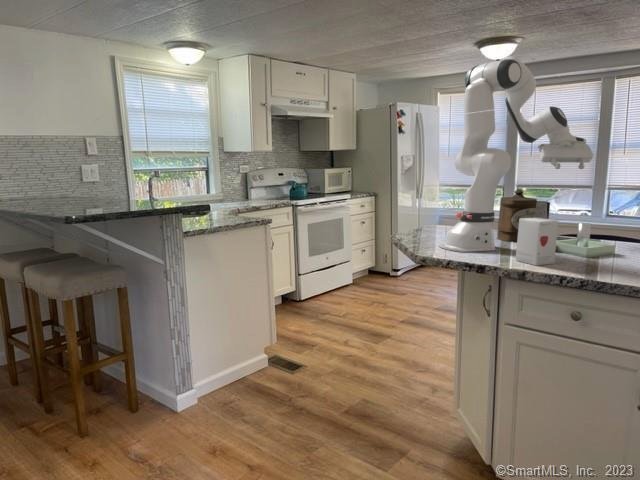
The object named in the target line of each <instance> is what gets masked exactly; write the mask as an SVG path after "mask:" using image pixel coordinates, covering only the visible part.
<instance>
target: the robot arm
mask: <svg viewBox="0 0 640 480" xmlns="http://www.w3.org/2000/svg"><path fill="white" fill-rule="evenodd" d="M464 78H465V79H464V85H465V91H464V98H463V99H464V100H463V113H464V114H463V116H464V118H463V119H464V120H463V121H464V138H463V143H462V147H461V149H460V151H459V153H457V155H456V157H455V159H454V161H455V162H454V166H455V168H456V170H457V171H458V172H459V173H460V174H462V175H465V176H468V177H474V178H473V182H472V183H471V186H470V187H469V188H467V190H465V195H464V208H463V209H464V210H463V212H462V213H461V212H458V211H457V212H456V218H459V219H460V220H459V221H458V222H457V223H456V224H455V225H454V226H452V227H451V228H450V229H449V230H448V231H447V232H446V234H445V239H444V240H445V241H444V242H442V243H439V244H438V247H439V248H442V249H445V250H448V251H452V252H461V253H466V252H467V253H468V252H469V253H470V252H485V251H488V252H489V251H496V243H495V234H494V233H495V232H494V222H495V217H496V216H495V211H494V209H495V207H494V206H495V200H496V199H495V197H496V192H497V189H498V186H499V183H500V181H501V180H502V178H503V177H504V176H505V175H506V174H507V173H508V172H509V170H510V168H511V166H512V158H511V155H510V154H509V152H507V151H506V150H504V149H500V148H497V147H489V148H488V144H489V140H490V138H491V136H492V135H494V133H495V131H496V116H495V115H496V114H495V102H494V95H493V94H494V93H495V92H499V91H503V90H505V91H506V93H507V94H506V95H507V96H506V98H505V102H504V103H505V107H506V109H507V111H508V113H509V115H510V117H511V119H512V121H513V123H514V126H515V127H516V130H517V133H518V136H519V139H521V140H522V142H524V143H528V144H529V143H531V144H533V143H534V142H535V141H537V140H539V139H541V138H542V137H544V136H545V135H547V139H549V143H542V144H539V145H538V146H537V148H538V149H537V150H538V151H539V157H540V158H539V159H540V161H541V162H542V163H550V164H551V166H553V167H554V168H555V170H560V169H561V166H562V165H561V164H560V163H579V165H578V169H579V170H584V169H585V163H590V162H591V161H592V160H593V157H594V153H593V151H592V149H591V147H590V145H589V144H587V139H586V138H583V137H578V136H575V135H573V134H572V133H571V132H570V127H569V125H568V120H567V117H566V114H565V113H564V111H563V110H562V109H561V108H560V107H557V106H549V107H547V108H545V109H543V110H542V111H539V112H538V113H536V114H535V115H533V116H531V117H529V118H524V116H523V114H522V112H521V110H522V108H523V106H524V105H525V104H526V103H527V101H529V100H530V99H531V97H532V96H533V95H534V92H535V91H536V89H537V88H536V87H537V80H536V78H535V76H534V75H533V73H532V72H531V70H530V68H528V67H527V65H525V64H524V63H523V62H522V61H521V60H520V59H519V58H518V57H516V56H510V55H509V56H507V57H504V58H502V59H501V60H496V61H488V62H485V63H482V64H480V65H479V64H478V65H474V66H473V67H471V68H470V69H469V70H468V71H467V72H466V75H465V77H464Z"/></svg>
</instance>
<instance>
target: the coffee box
mask: <svg viewBox="0 0 640 480" xmlns="http://www.w3.org/2000/svg"><path fill="white" fill-rule="evenodd" d="M550 205H551V202H550V201H548V200H546V201H545V200H537V204H536V217H535V218H545V219H550V218H549V217H550V210H551V209H550V207H551V206H550Z"/></svg>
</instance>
